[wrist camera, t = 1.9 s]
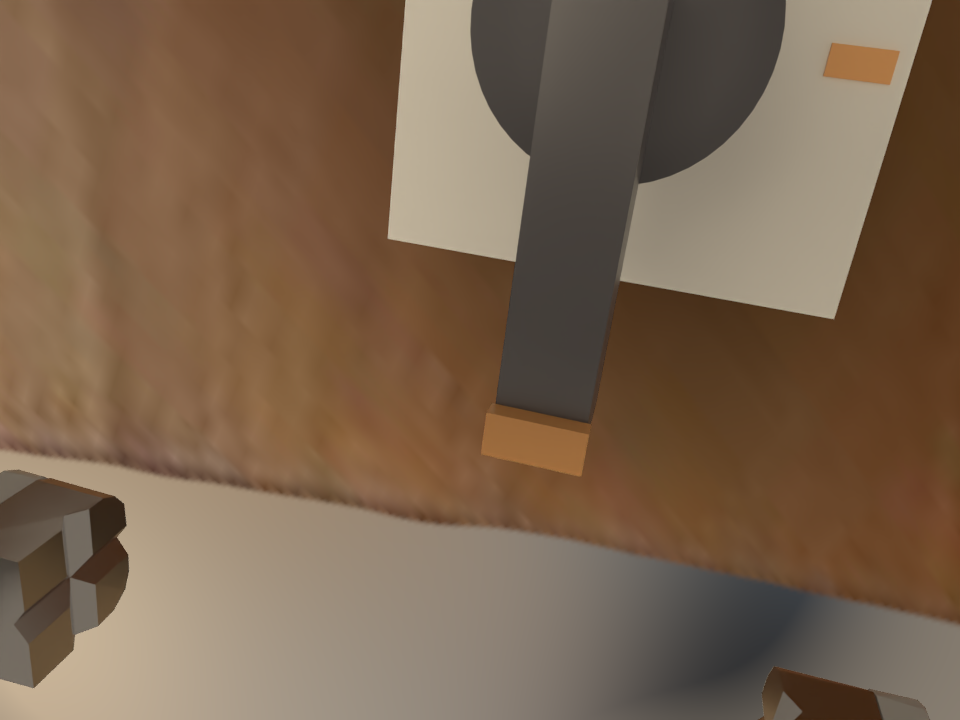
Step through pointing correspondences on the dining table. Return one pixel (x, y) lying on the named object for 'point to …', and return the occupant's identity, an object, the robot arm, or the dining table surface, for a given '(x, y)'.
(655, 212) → the base
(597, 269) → the twist knob
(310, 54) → the dining table surface
